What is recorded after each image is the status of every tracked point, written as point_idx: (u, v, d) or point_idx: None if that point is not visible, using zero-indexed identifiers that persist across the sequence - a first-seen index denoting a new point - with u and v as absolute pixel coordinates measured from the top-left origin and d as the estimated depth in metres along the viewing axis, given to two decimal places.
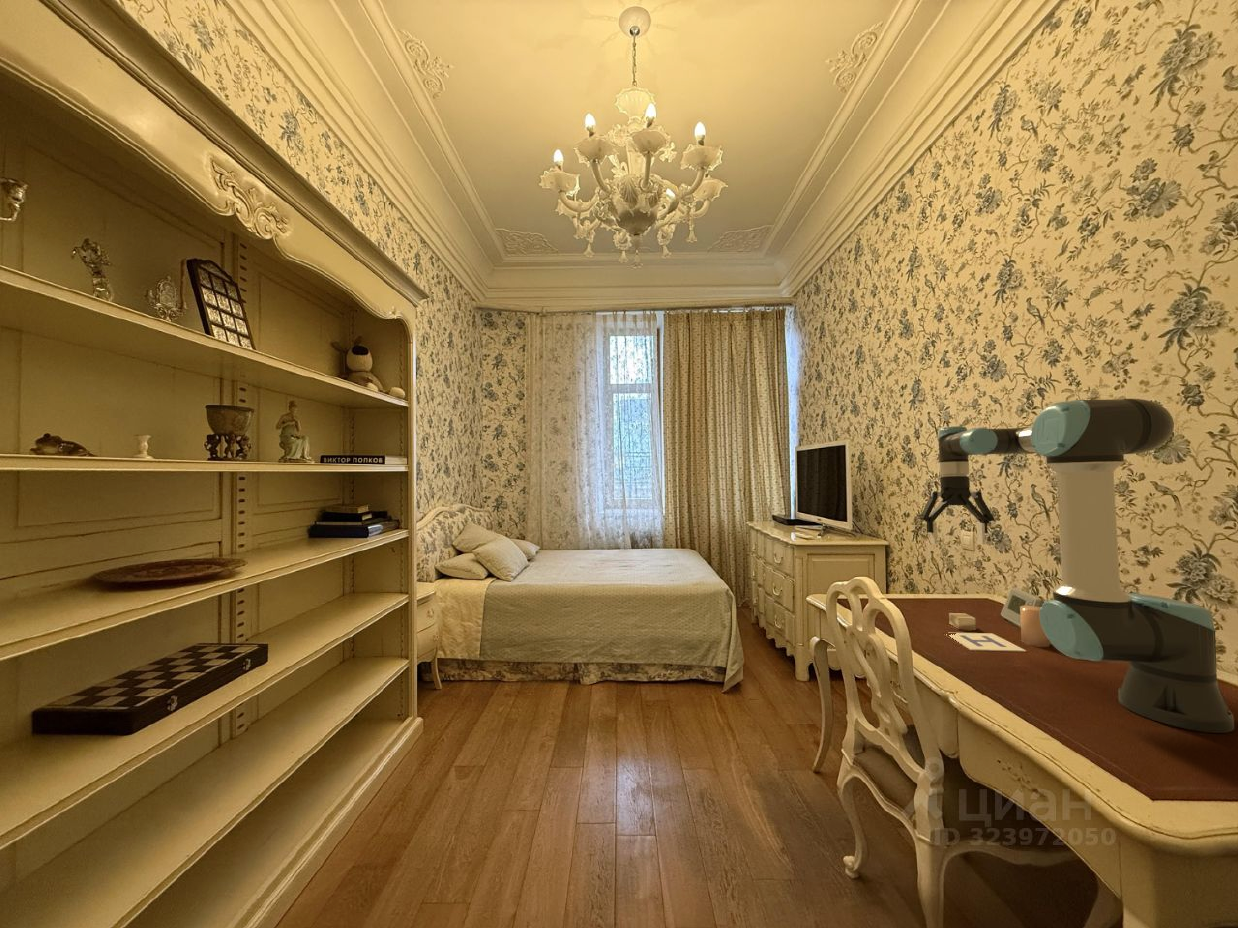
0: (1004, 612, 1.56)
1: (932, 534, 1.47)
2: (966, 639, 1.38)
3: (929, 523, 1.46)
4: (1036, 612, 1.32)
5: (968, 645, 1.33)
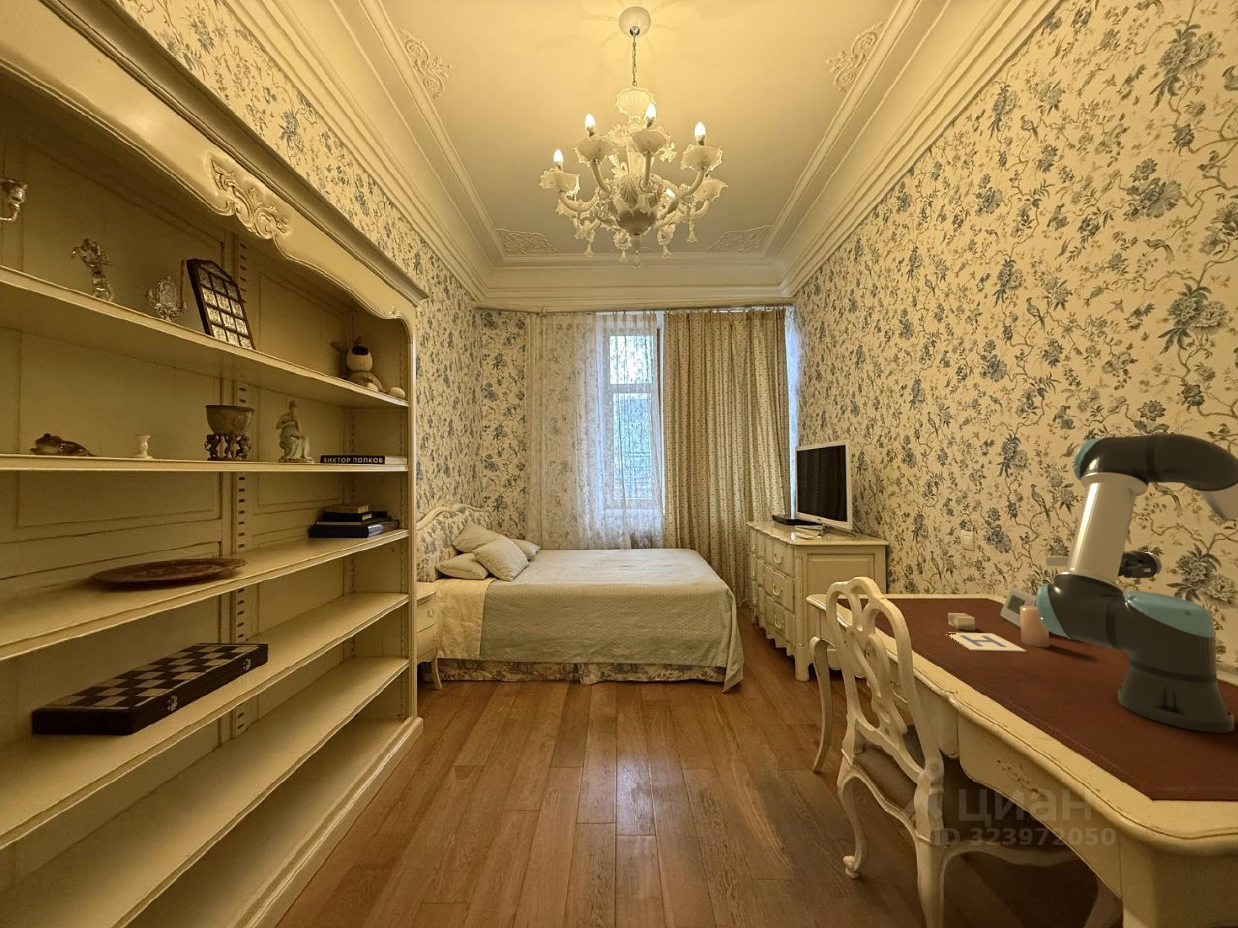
0: (1004, 612, 1.56)
1: None
2: (966, 639, 1.38)
3: None
4: (1036, 612, 1.32)
5: (968, 645, 1.33)
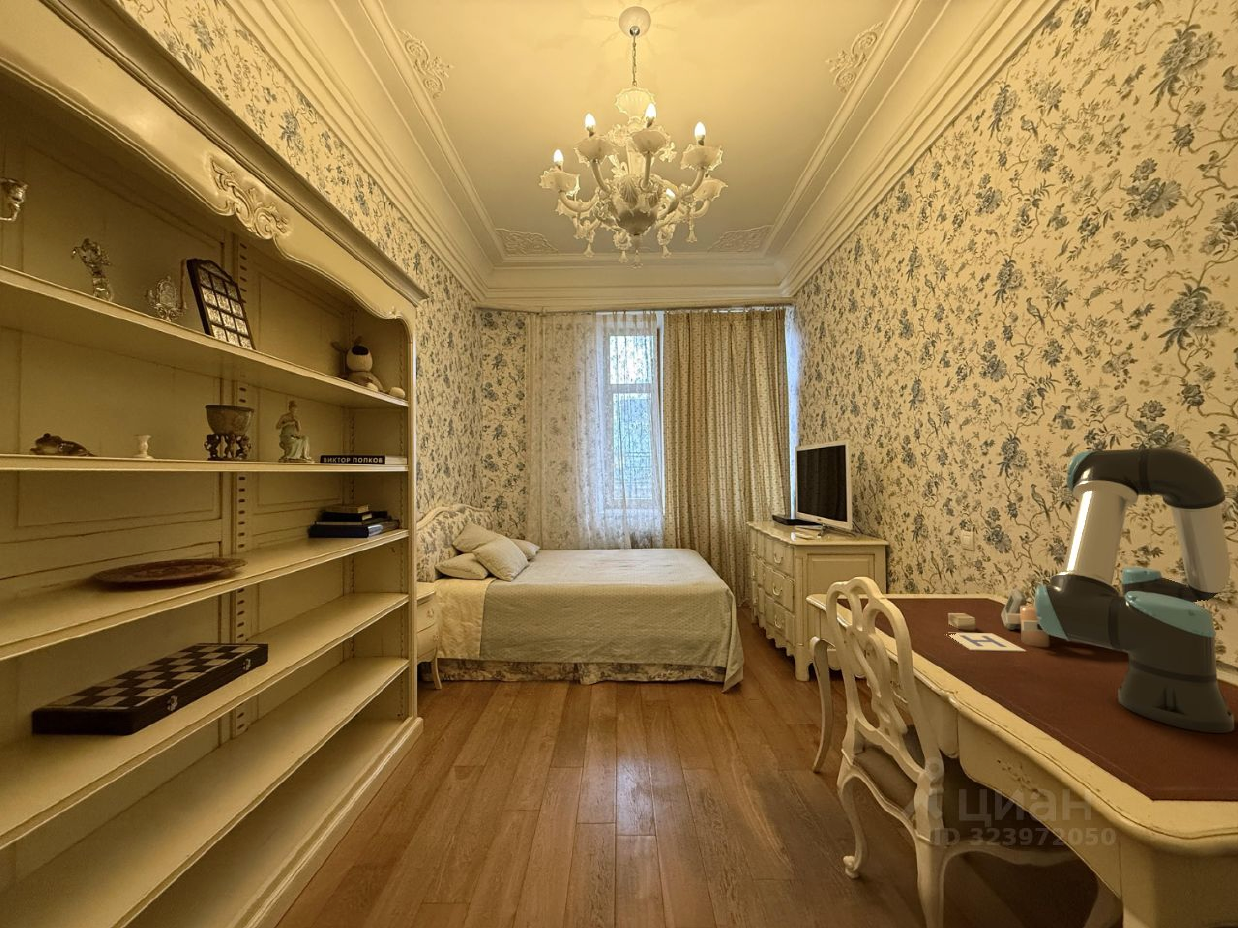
0: (1002, 612, 1.56)
1: None
2: (966, 639, 1.38)
3: None
4: None
5: (968, 645, 1.33)
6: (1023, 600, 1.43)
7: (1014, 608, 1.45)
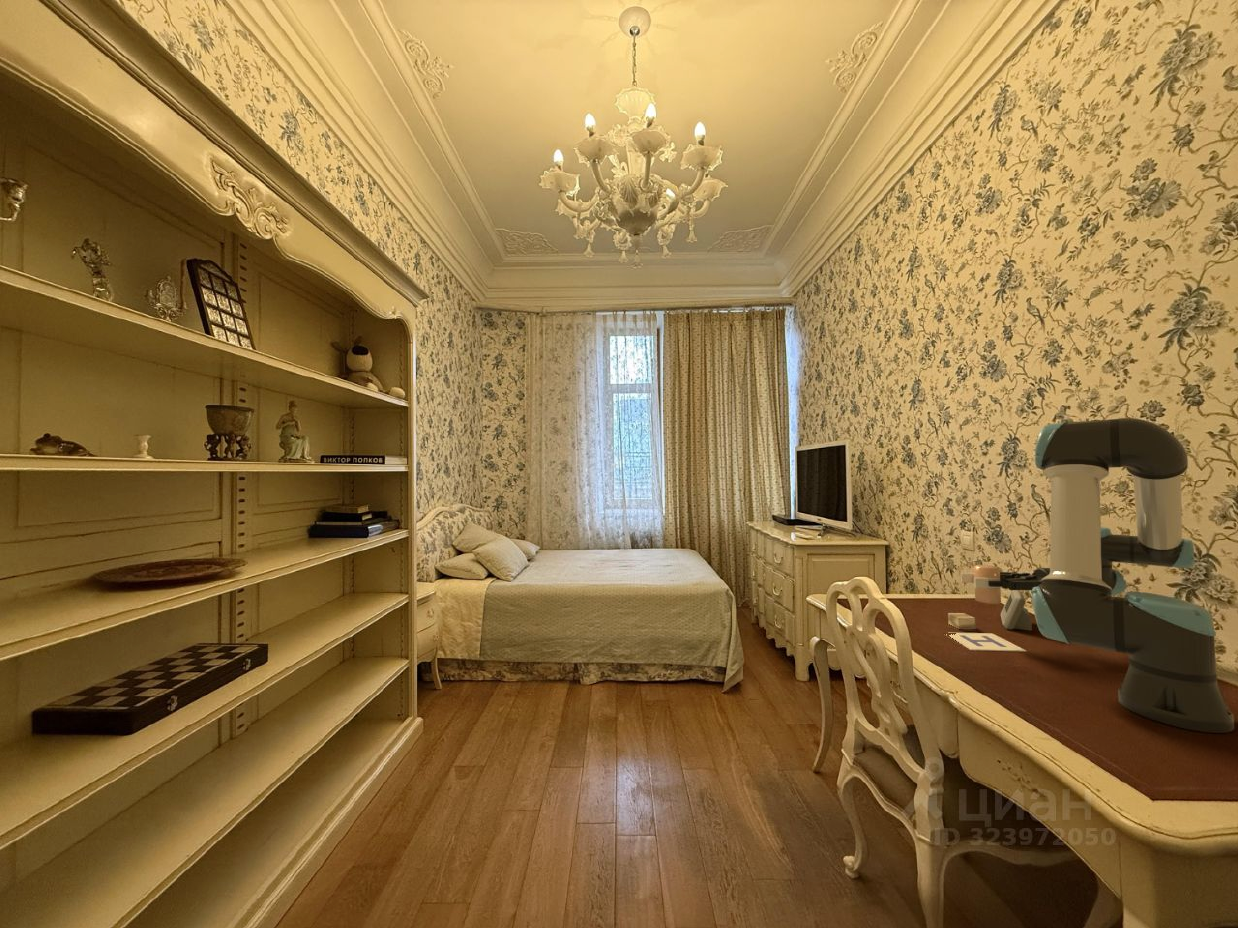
0: (1002, 611, 1.57)
1: None
2: (966, 639, 1.38)
3: None
4: (988, 569, 1.34)
5: (968, 645, 1.33)
6: (1022, 600, 1.44)
7: (1013, 608, 1.45)
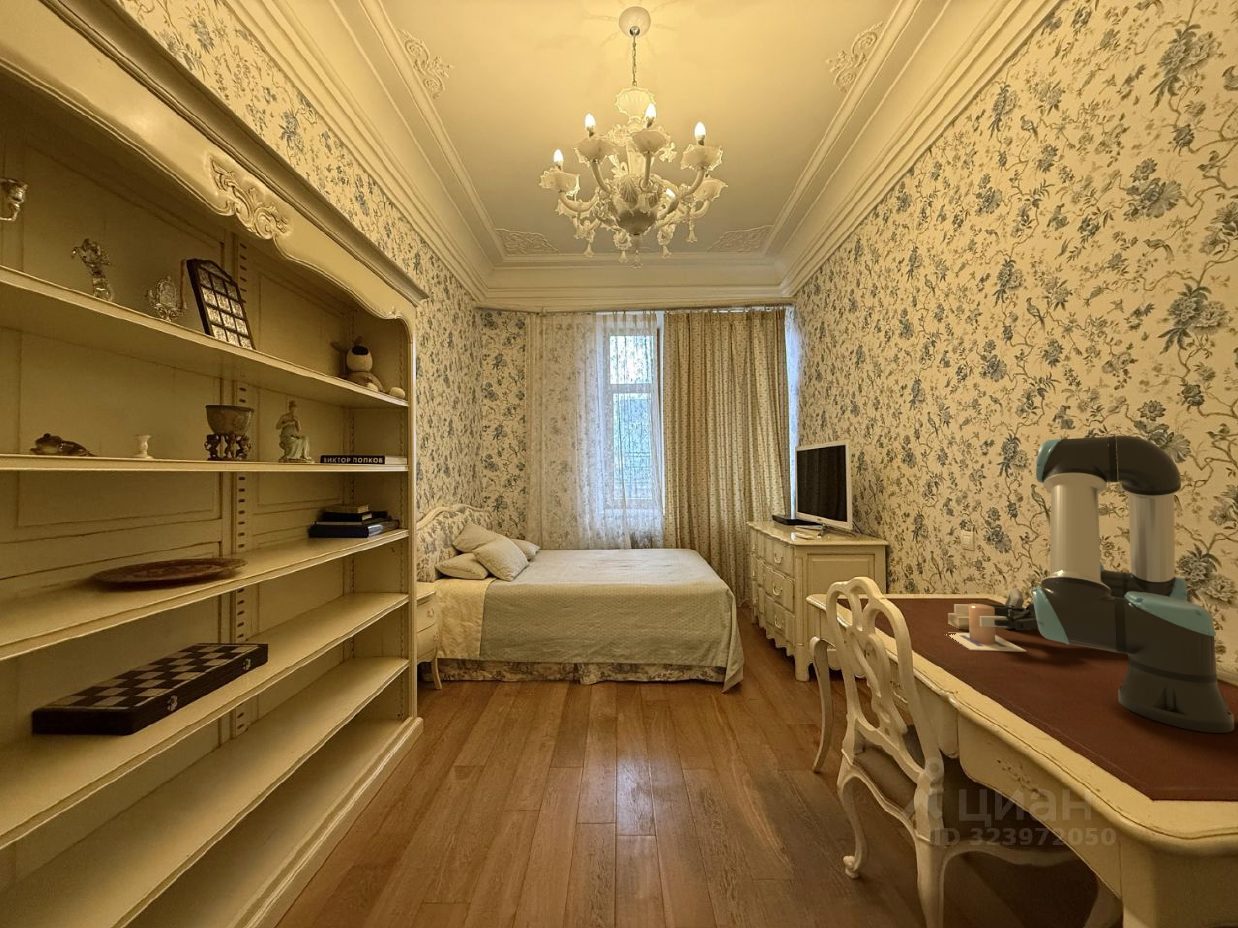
0: None
1: None
2: (966, 639, 1.38)
3: None
4: (983, 610, 1.34)
5: (968, 645, 1.33)
6: (1020, 599, 1.44)
7: None
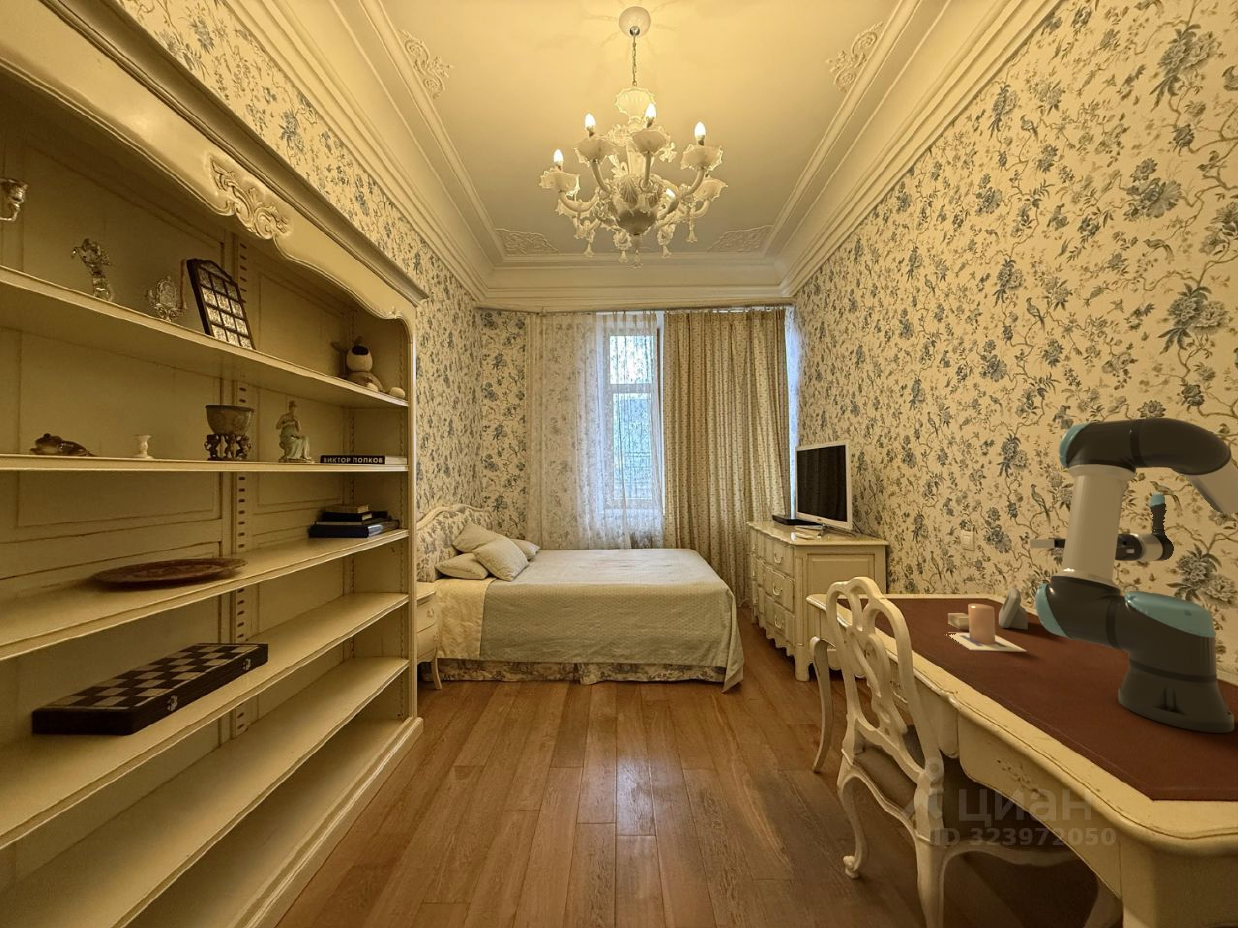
0: (1000, 611, 1.58)
1: None
2: (966, 639, 1.38)
3: None
4: (982, 610, 1.34)
5: (968, 645, 1.33)
6: (1017, 599, 1.45)
7: (1008, 607, 1.46)
